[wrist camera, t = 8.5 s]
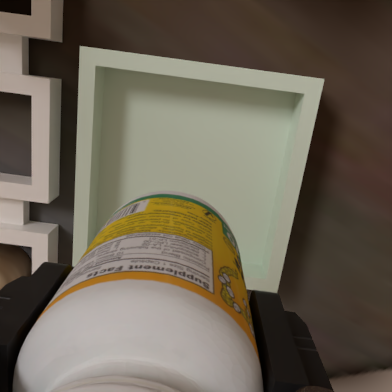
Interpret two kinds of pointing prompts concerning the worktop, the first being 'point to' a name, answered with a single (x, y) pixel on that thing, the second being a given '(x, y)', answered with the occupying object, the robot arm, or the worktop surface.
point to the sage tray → (194, 146)
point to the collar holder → (41, 130)
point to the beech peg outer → (13, 264)
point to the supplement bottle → (148, 308)
